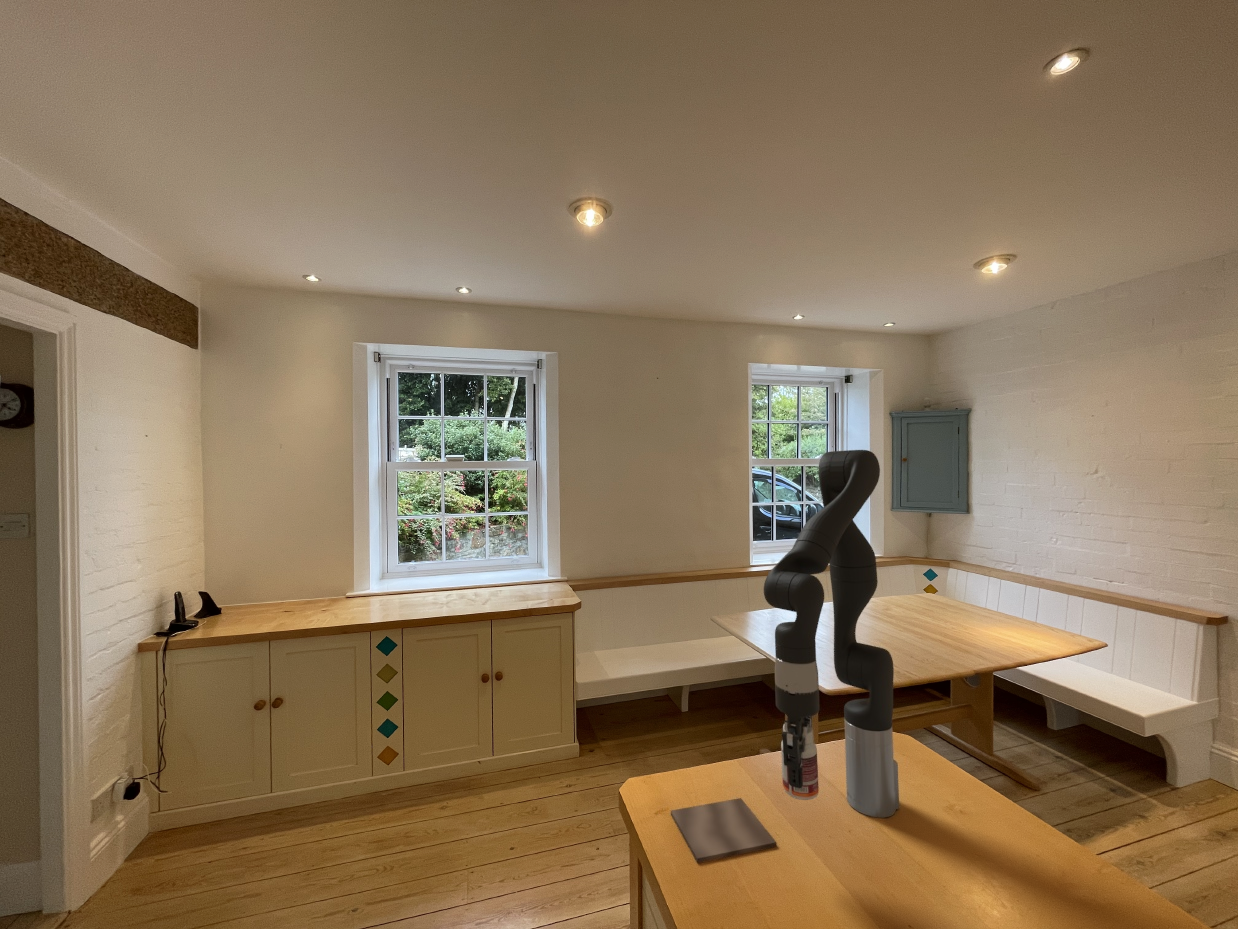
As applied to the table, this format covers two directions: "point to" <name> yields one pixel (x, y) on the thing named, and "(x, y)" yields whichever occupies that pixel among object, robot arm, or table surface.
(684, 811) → the walnut board
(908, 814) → the table surface
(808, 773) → the pill bottle
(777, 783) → the table surface
